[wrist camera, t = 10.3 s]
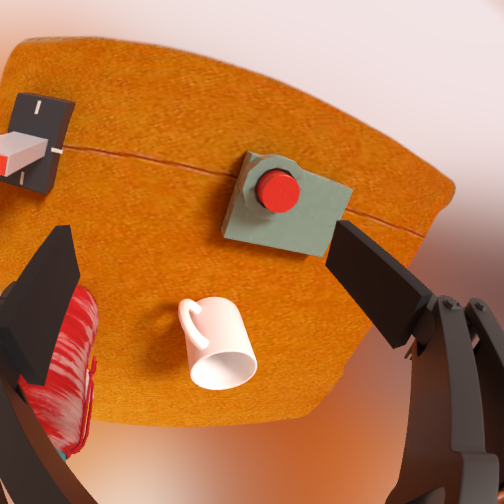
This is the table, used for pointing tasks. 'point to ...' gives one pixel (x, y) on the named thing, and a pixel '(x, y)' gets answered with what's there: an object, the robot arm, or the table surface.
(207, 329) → the mug
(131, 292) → the table surface
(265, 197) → the button
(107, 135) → the table surface
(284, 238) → the housing
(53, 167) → the panel
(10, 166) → the knob
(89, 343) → the water bottle
